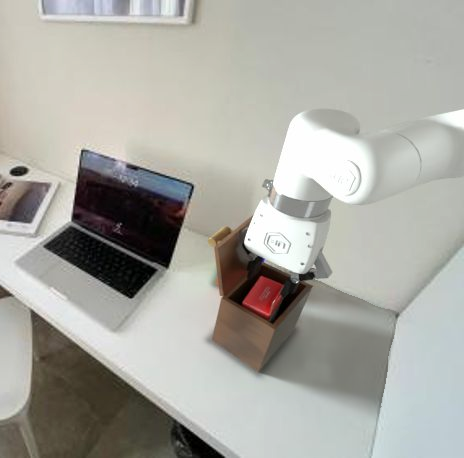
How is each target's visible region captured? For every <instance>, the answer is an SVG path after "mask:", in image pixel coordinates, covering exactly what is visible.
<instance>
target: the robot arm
mask: <svg viewBox="0 0 464 458" xmlns="http://www.w3.org/2000/svg"><path fill="white" fill-rule="evenodd" d="M360 131H361V124H360V121H359V120H358V118H357V117H356V116H354V115H353V114H351V113H350V112H347V111H343V110H339V109H333V108H311V109H306V110H303V111H302V112H299V113H298V114H297V115H295V116H294V117H293V118H292V120H291V121H290V123H289V126H288V129H287V133H286V136H285V140H284V143H283V147H282V150H281V154H280V157H279V161H278V164H277V168H276V171H275V175H274V178H273V179H269V178H265V179H264V180H263V182H262V184H261V187H262V188H264V189H266V190H267V191H268V194H266V195H264V196H263V197H262V198H261V200H260V201H259V204H258V206H257V207H256V209H255V211H254V213H253V214H254V216H253V218H252V221H251V223H250V226H249V227H247V228H244V229H242V230H241V231H240V232H239V238H240V243H242V247H243V249H244V250H245V252H246V253H247V255H248V256H247V259H248V260H249V262H248V266H247V271H248V275H247V278H248V279H252V278H253V277H254V276H255V275H256V274H257V273H258V272H259V271H260V268H261V264H262V261H263V258H265V260H267V261H269V262H271V263H273V264H274V265H277V266H280V267H282V268H283V269H286V270H287V271H289V275H290V276H289V278H288V279H287V280H286V282H285V284H284V287H283V289H282V292H281V296H282V297H284V298H285V297H286V296H287V294H288V293H289V292H290V293H292V294H293V293H294V292H295V291H296V289H297V287H298V285H299V283H300V281H304V282H306V281H312V280H315V279H316V280H323V279H329V278H330V276H331V275H332V274H333V269H332V268H331V266H330V264H329V262H328V261H327V259H326V257H325V255H324V253H323V251H324V248H325V246H326V245H325V244H326V243H327V242H326V241H327V238H328V236H329V230H330V226H331V220H332V211H331V209H329V207H330V204H331V202H332V200H333V197H334V198H336V199H337V200H339V201H341V202H343V203H345V204H348V205H352V206H367V205H372V204H375V203H378V202H380V201H383V200H386V199H389V198H391V197H393V196H396V195H399V194H401V193H403V192H406V191H408V190H411V189H414V188H416V187H419V186H422V185H424V184H427V183H430V182H434V181H438V180H439V181H441V180H446V179H447V180H448V179H458V178H464V108H462V109H457V110H454V111H448V112H443V113H439V114H433V115H429V116H424V117H419V118H416V119H412V120H408V121H404V122H402V123H398V124H394V125H392V126H389V127H386V128H383V129H380V130H376V131H373V132H365V133H360ZM313 266H314V267H313Z"/></svg>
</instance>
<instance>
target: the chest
mask: <svg viewBox="0 0 464 458" xmlns="http://www.w3.org/2000/svg"><path fill="white" fill-rule="evenodd" d="M247 275H248V274H247ZM247 275H246V276H245V277H244V278H243V279H242V280H241V281H240V282H239V283H238V284H237V285H235V286H234V287H233V288H232V289H231V290H230V291H229V292H228V293H227V294H226V295H225V296H224V297H223V296H221V298H220V301H219V306H218V309H217V311H218V312H217V315H216V319H215V323H214V328H213V333H212V337H211V341H212V342H214V343H215V344H216V345H218V346H219V347H221V348H223V350H225V351H226V352H228V353H230V354H231V355H232V356H234V357H235V358H237V359H238V360H240V361H241V362H243V363H244V364H245V365H247V366H248V367H250V368H252V370H254V371H256V372H257V373H259V372H260V371H262V369H263V367H264V366H266V364H267V362H269V360H270V359H271V358H272V357H273V355H274V354H275V353H276V352H277V350H278V349H279V348H280V347H281V346H282V344H283V343H284V342H285V341H286V340H287V338H288V337H289V336H290V335H291V334H292V332H294V330H295V328H296V326H297V323H298V321H299V319H300V317H301V314H302V312H303V310H304V308H305V306H306V303H307V301H308V299H309V298H310V297H309V296H310V295H311V292H312V290H313V289H314V288H313V287H314V285H313V284H310V283H308V282H306V281H300V283H299V285H298V287H297V289H296V291H295V292H294V293H293V294H292V293H290V292H289V293H288V294H287V296H286V297H285V298H283V300H282V303H281V305H280V308H279V310H278V313H277V315H276V318H275V320H274V323H273V324H271V323H270V322H268V321H266V320H264V319H263V318H261V317H259V316H258V315H256V314H254V313H252V312H251V311H249V310H247V309H246V308H244V307H242V302H243V301H244V299H245V298H246V296H247V295H248V293H249V292H250V290H251V289H252V288H253V286H254V285H255V283H256V282H257V281H258V279H259V278H260V277H261V276H263V277H265V278H268V279H271V280H273V281H275V282H278V283H280V284H282V285H284V284H285V282H286V280H287V279H288V277H289V276H290V273H287V272H285V271H283V270H281V269H279V268H277V267H275V266H273V265H271V264H268V263H266V262H265V261H264V262H262V264H261V268H260V271H259V272H258V273H257V274H256V275H255V276H254V277H253V278H252V279H248V278H247Z"/></svg>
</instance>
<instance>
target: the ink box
mask: <svg viewBox="0 0 464 458" xmlns="http://www.w3.org/2000/svg"><path fill="white" fill-rule="evenodd" d="M288 278H289V277H288ZM283 287H284V285H282V284H280V283H278V282H275V281H273V280H271V279H268V278H265V277H263V276H261V277H260V278H259V279H258V281H257V282H256V283H255V285H254V286H253V288H252V289H251V290H250V292H249V293H248V295H247V296H246V298H245V299H244V301H243V302H242V307H244V308H246V309H247V310H249V311H251V312H252V313H254V314H256V315H258V316H259V317H261V318H263V319H264V320H266V321H268V322H270V323H271V324H273V323H274V320H275V318H276V315H277V313H278V310H279V308H280V305H281V303H282V300H283V298H284V297H282V296H281V292H282V289H283Z"/></svg>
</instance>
